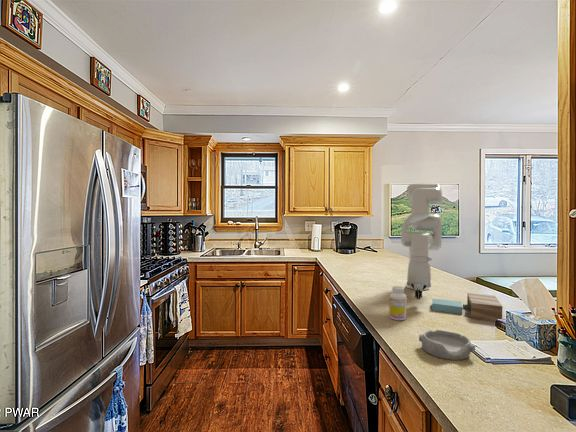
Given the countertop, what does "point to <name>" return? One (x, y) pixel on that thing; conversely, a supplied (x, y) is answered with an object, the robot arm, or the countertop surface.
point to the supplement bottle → (397, 304)
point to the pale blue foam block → (447, 306)
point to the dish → (446, 344)
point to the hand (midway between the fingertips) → (418, 298)
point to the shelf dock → (483, 307)
